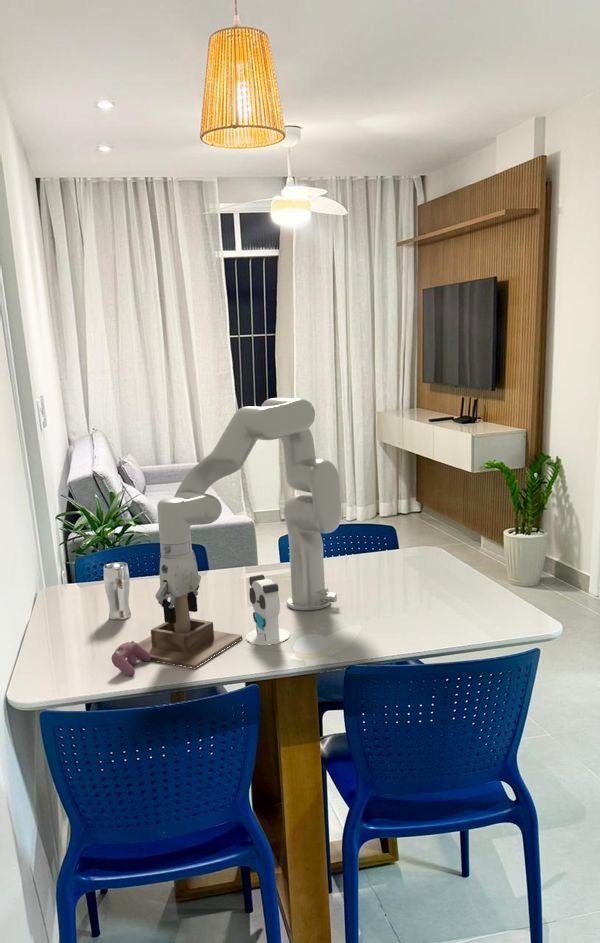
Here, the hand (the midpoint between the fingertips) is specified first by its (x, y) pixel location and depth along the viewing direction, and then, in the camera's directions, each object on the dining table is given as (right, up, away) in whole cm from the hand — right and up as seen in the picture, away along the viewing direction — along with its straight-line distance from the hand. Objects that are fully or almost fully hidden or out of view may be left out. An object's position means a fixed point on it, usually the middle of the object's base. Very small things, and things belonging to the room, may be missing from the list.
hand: (181, 616), depth 189 cm
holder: (0, -8, +1) cm, 8 cm away
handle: (0, -7, +1) cm, 7 cm away
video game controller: (-10, -10, -10) cm, 18 cm away
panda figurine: (+21, -6, +6) cm, 23 cm away
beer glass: (-21, -5, +26) cm, 34 cm away
